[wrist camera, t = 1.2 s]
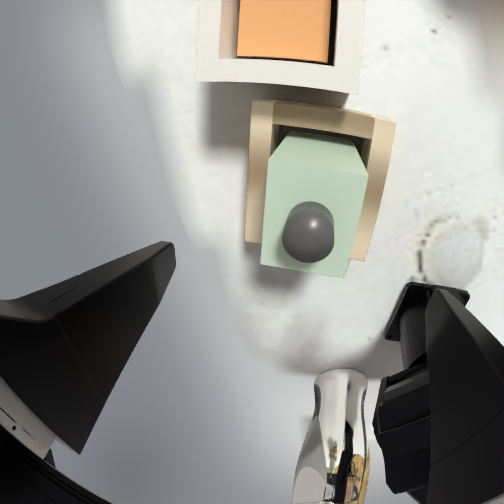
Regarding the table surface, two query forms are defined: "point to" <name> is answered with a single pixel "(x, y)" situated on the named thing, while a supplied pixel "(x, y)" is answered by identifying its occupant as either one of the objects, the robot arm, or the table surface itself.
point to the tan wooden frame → (328, 119)
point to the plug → (312, 204)
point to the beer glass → (335, 443)
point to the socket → (275, 71)
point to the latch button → (284, 29)
